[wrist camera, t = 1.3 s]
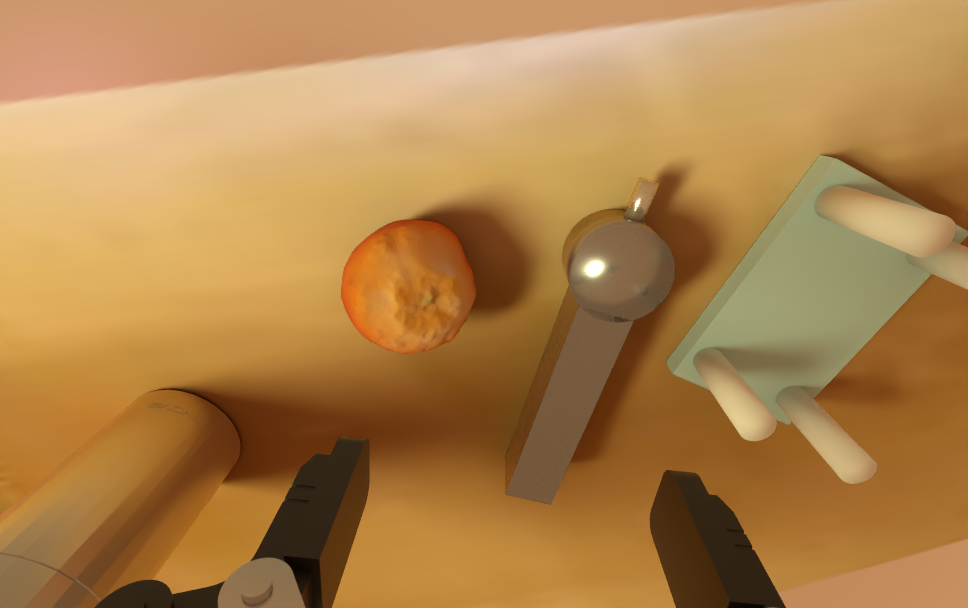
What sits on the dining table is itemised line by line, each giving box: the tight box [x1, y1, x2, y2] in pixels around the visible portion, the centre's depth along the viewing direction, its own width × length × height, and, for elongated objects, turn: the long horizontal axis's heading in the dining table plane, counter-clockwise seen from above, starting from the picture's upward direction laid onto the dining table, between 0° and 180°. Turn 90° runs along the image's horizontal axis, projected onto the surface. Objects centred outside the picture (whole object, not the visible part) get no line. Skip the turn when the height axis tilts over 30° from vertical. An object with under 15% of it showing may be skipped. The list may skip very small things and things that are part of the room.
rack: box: [666, 155, 968, 484], centre depth 28 cm, size 16×10×8 cm, turn 155°
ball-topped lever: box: [505, 177, 675, 505], centre depth 32 cm, size 24×6×4 cm, turn 165°
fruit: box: [341, 220, 476, 354], centre depth 29 cm, size 8×8×8 cm
